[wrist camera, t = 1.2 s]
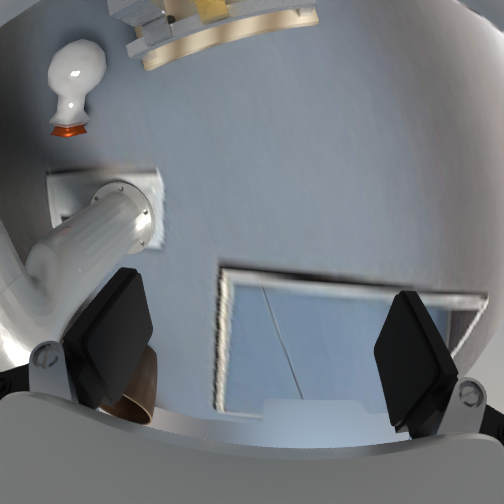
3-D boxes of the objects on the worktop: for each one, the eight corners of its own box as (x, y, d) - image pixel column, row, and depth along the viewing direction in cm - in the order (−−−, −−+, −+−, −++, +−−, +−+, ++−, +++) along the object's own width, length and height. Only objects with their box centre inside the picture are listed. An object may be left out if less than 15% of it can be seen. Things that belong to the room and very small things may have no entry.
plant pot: (185, 368, 59) (166, 425, 45) (142, 375, 63) (121, 424, 49) (144, 323, 53) (112, 382, 39) (104, 336, 58) (73, 385, 43)
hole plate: (149, 70, 31) (144, 69, 30) (134, 10, 26) (129, 7, 24) (317, 24, 26) (319, 20, 25) (292, -38, 21) (292, -43, 20)
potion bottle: (113, 40, 29) (98, 123, 38) (57, 41, 24) (46, 126, 33) (114, 36, 24) (96, 139, 32) (45, 39, 18) (35, 143, 27)
